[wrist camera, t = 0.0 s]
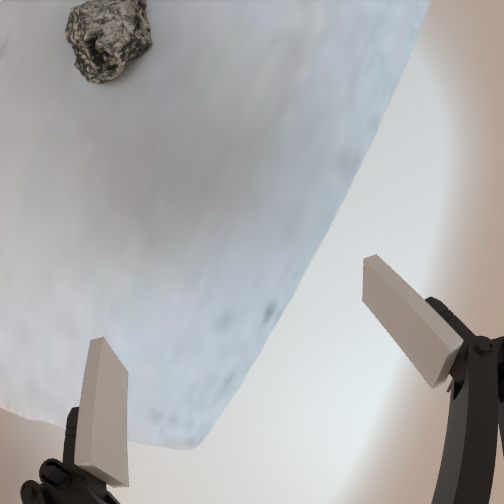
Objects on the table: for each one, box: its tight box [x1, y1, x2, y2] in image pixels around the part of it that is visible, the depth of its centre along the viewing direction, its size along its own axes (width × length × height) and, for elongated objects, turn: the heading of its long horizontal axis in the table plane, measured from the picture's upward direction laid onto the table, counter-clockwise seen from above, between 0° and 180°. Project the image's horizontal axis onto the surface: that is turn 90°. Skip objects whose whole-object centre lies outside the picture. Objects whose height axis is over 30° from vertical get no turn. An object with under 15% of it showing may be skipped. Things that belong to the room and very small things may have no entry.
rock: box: [65, 0, 152, 83], centre depth 25 cm, size 13×10×10 cm
